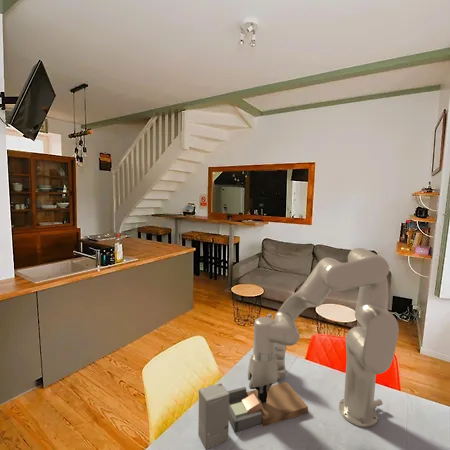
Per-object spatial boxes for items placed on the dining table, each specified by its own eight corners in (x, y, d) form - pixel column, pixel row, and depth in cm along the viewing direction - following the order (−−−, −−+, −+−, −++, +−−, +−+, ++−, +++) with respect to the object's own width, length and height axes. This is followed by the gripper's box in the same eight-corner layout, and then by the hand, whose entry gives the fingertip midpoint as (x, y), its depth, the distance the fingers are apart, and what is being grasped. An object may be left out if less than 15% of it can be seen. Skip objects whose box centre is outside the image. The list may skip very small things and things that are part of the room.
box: (244, 396, 109) (245, 386, 109) (261, 424, 96) (262, 413, 96) (220, 402, 106) (220, 392, 105) (234, 432, 93) (234, 421, 92)
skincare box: (205, 450, 86) (206, 403, 84) (197, 433, 92) (197, 388, 90) (230, 440, 90) (230, 394, 88) (220, 423, 96) (220, 380, 94)
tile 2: (255, 398, 104) (253, 393, 103) (261, 408, 99) (259, 402, 99) (243, 405, 102) (241, 400, 102) (249, 416, 98) (247, 410, 97)
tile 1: (241, 408, 102) (242, 401, 102) (247, 418, 98) (247, 412, 97) (229, 411, 101) (229, 405, 100) (234, 422, 96) (234, 415, 96)
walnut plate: (286, 387, 114) (286, 381, 114) (307, 413, 101) (308, 406, 101) (245, 398, 108) (246, 392, 108) (263, 426, 95) (263, 420, 95)
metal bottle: (281, 384, 116) (283, 338, 114) (266, 377, 120) (268, 333, 118) (288, 376, 121) (290, 332, 119) (273, 370, 125) (275, 327, 123)
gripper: (276, 343, 106) (275, 388, 108) (240, 351, 101) (239, 398, 103) (287, 354, 99) (285, 402, 101) (249, 363, 94) (248, 413, 96)
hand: (262, 400), depth 102 cm, fingers closed
